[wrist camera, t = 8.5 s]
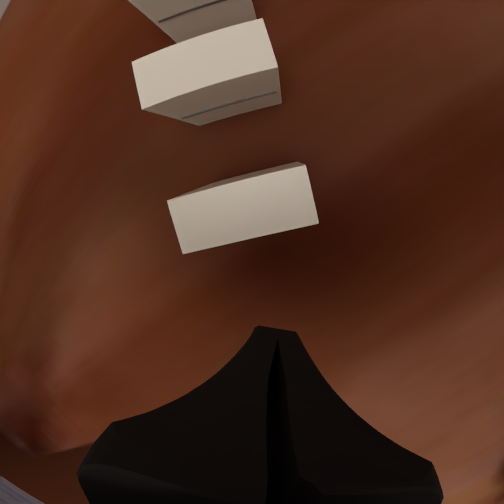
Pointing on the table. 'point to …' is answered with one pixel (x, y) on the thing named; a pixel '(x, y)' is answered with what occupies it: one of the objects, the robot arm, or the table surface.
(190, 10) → the tile
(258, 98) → the tile
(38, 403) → the table surface
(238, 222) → the lead tile
